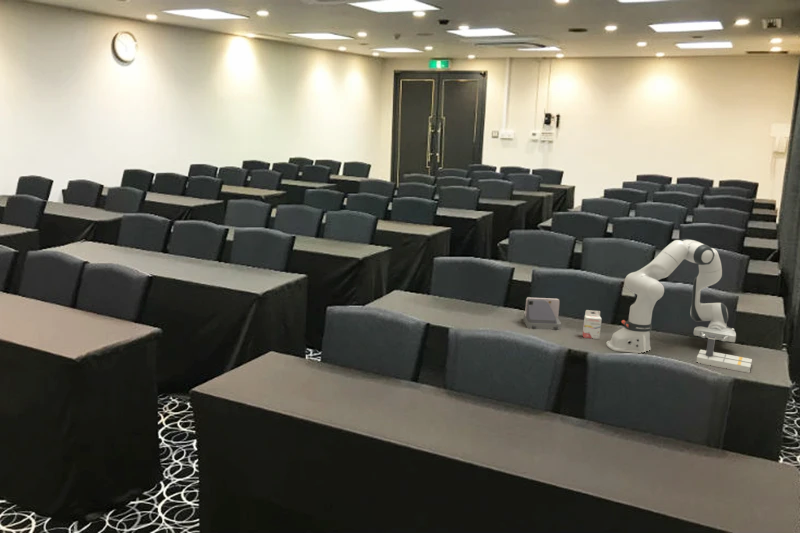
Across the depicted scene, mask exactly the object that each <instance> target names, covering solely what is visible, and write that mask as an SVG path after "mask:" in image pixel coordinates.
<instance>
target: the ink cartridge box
mask: <svg viewBox="0 0 800 533" xmlns="http://www.w3.org/2000/svg"><path fill="white" fill-rule="evenodd" d="M583 318H584V320H583V327H582V336H583V339H592V338H593V339H595V340H600V337H601V336H600V335H601V328H602V320H603V319H602V317H601V311H600V310H591V309H590V310H589V309H586V310H585V313H584V317H583Z"/></svg>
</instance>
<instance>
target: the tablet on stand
mask: <svg viewBox="0 0 800 533" xmlns="http://www.w3.org/2000/svg"><path fill="white" fill-rule="evenodd" d="M559 311H560V298H550V297H548V298H546V297H530V296H527V297H526V299H525V310H524V312H523V322H524V324H525V325H526V327H527V329H531V330H532V329H533V330H534V329H535V330H553V331H554V330H556V331H560V330H561V329H562V322H561V321H560V319H559V313H560V312H559Z"/></svg>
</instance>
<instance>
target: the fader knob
mask: <svg viewBox="0 0 800 533" xmlns="http://www.w3.org/2000/svg"><path fill="white" fill-rule="evenodd" d="M715 338H716V335H710V334H709V336H708V338H707V344H706V355H708V356H713V353H714V352H715V351H714V349H715V343H716V340H715Z"/></svg>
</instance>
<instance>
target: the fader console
mask: <svg viewBox="0 0 800 533" xmlns="http://www.w3.org/2000/svg"><path fill="white" fill-rule="evenodd" d="M706 350H707V349H706ZM706 350H705V349H701V348H700V350H699V352H698V354H697V356H696V361H695V362H698V363H697V364H700V363H701V364H700V365H706V366H710V365H711V366H712V367H717V368H722V369H726V368H727V369H726V370H732V371H736V372H742V373H747V374H750V372H751V367H752V362H753V359H752V358H748V357H743V356H737V355H733V354H727V353H721V352H715V351H713V352H714V353H713V356H708V355H706ZM711 366H710V367H711Z"/></svg>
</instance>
